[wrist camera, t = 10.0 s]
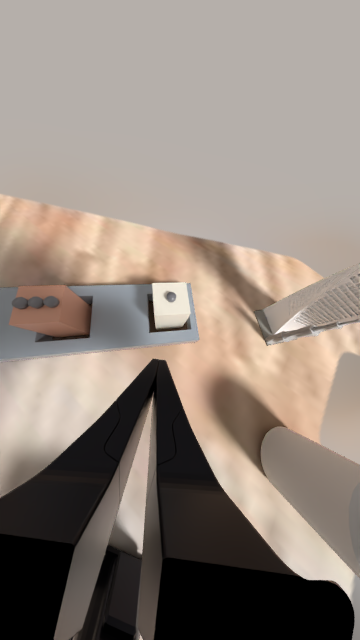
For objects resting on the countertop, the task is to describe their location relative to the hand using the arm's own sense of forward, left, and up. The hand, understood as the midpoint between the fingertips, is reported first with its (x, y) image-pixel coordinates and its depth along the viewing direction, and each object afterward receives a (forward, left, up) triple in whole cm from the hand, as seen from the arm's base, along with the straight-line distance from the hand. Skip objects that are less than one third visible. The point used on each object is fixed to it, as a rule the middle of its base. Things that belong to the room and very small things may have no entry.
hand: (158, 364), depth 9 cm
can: (-4, -22, -14) cm, 26 cm away
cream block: (+8, +2, -13) cm, 15 cm away
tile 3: (+1, +15, -13) cm, 20 cm away
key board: (+1, +15, -13) cm, 20 cm away
